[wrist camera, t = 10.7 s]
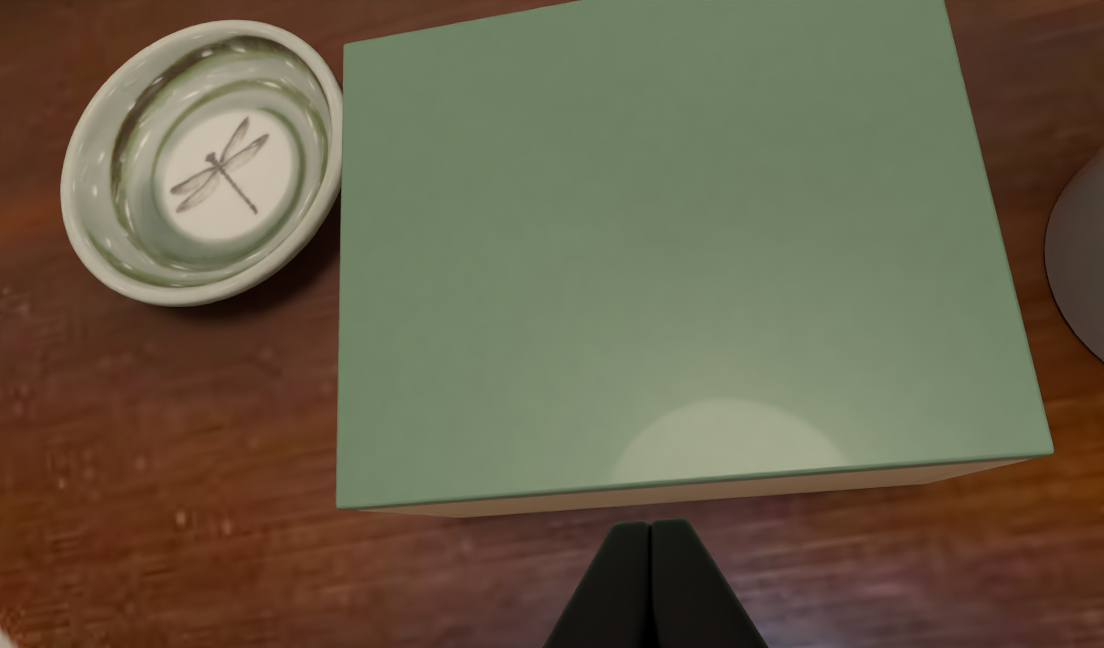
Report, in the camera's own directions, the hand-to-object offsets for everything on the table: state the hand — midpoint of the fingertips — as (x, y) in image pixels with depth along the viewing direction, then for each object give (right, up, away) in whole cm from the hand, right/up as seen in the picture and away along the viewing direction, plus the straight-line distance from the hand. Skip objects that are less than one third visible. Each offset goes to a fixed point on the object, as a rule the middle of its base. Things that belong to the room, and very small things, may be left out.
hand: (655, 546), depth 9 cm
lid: (+1, +5, +7) cm, 8 cm away
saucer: (-12, +7, +17) cm, 22 cm away
